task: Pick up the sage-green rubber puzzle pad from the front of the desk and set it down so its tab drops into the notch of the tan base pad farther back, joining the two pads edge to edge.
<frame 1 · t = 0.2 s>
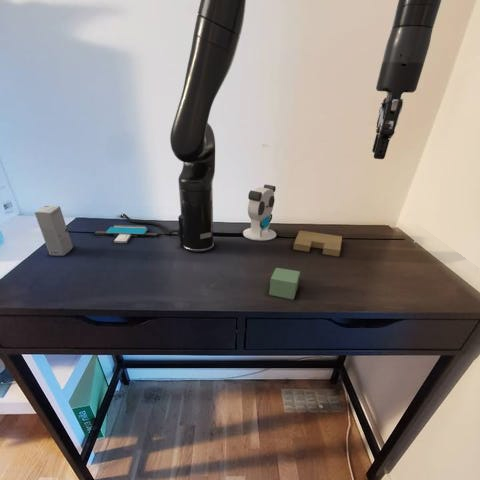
hand: (377, 155, 69), 29 cm above the table, tool pointing down, fingers open, 8 cm apart
panda figurine: (259, 235, 106), on the table
cosmetic box: (61, 252, 90), on the table
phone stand: (126, 236, 101), on the table
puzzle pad: (283, 291, 77), on the table
base pad: (317, 245, 100), on the table
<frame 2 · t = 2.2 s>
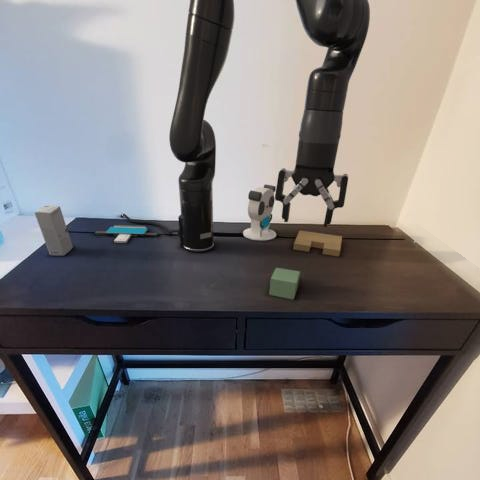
hand: (305, 223, 69), 16 cm above the table, tool pointing down, fingers open, 8 cm apart
nothing on the table moved.
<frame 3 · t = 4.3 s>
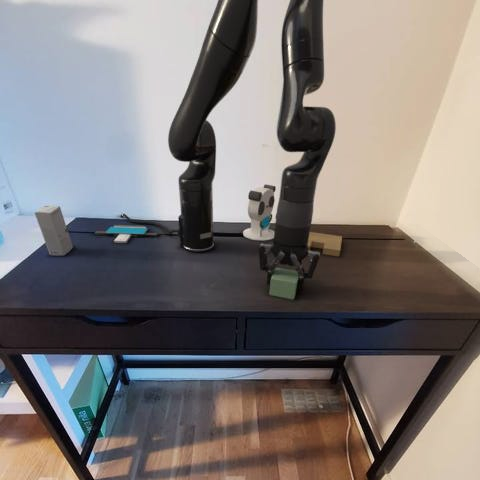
hand: (284, 288, 76), 1 cm above the table, tool pointing down, fingers closed on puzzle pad, 6 cm apart
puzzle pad: (283, 291, 77), on the table, touching gripper
everything else where it was.
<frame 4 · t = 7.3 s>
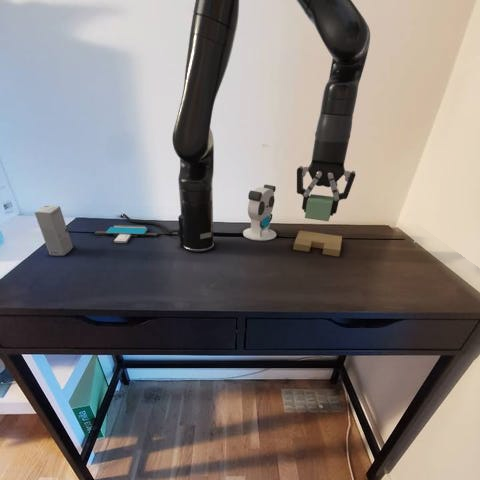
hand: (318, 213, 80), 15 cm above the table, tool pointing down, fingers closed on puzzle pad, 6 cm apart
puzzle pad: (317, 216, 81), point 14 cm above the table, touching gripper
everything else where it was.
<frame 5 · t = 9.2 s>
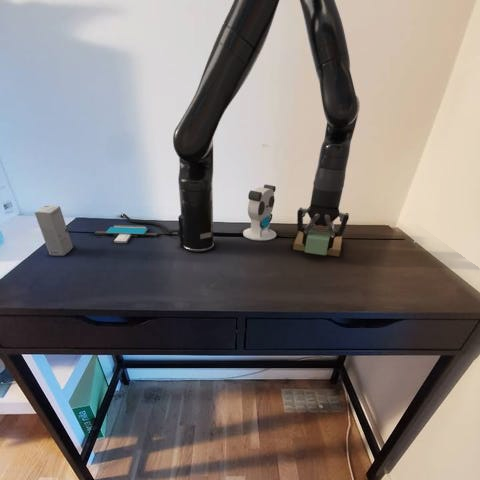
hand: (316, 247, 90), 3 cm above the table, tool pointing down, fingers closed on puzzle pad, 6 cm apart
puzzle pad: (316, 249, 91), point 3 cm above the table, touching gripper
everything else where it was.
when the fingers open (1 cm above the table, at t = 10.5 s): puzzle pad stays where it is, on the table.
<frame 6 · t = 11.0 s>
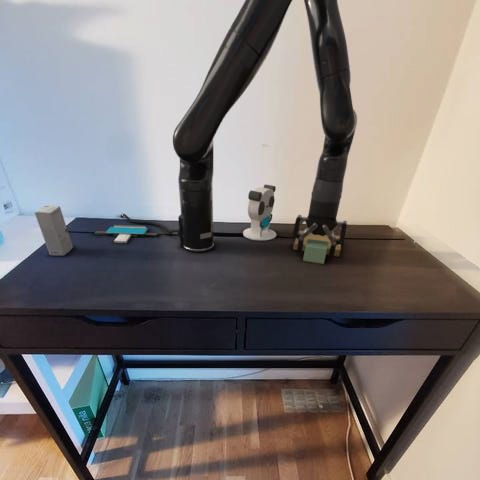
hand: (314, 254, 92), 1 cm above the table, tool pointing down, fingers open, 8 cm apart
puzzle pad: (314, 258, 92), on the table
everything else where it was.
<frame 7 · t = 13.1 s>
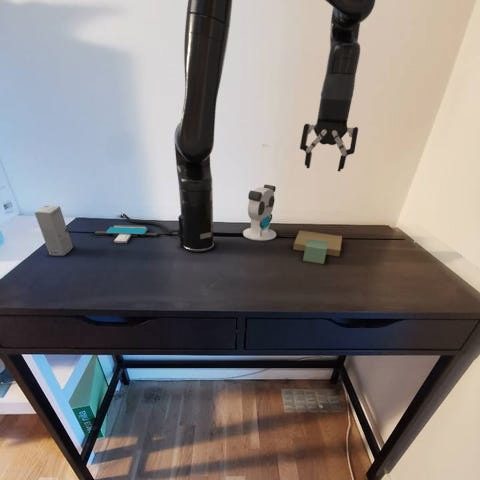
hand: (323, 169, 86), 23 cm above the table, tool pointing down, fingers open, 8 cm apart
nothing on the table moved.
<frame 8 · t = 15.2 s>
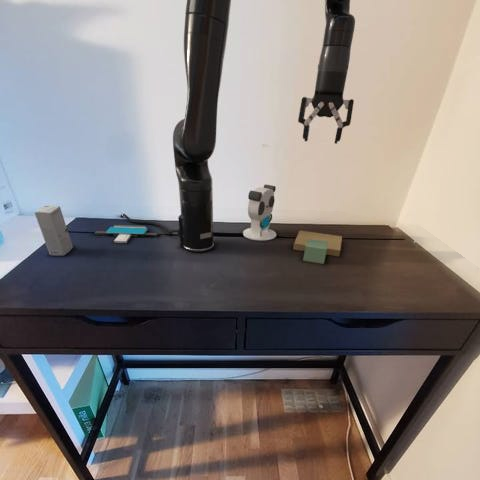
hand: (320, 142, 90), 28 cm above the table, tool pointing down, fingers open, 8 cm apart
nothing on the table moved.
at the end: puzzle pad 0.1 cm from the target spot on the table beside the base pad, on the table; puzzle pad tilted 0°; the gripper is holding nothing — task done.
